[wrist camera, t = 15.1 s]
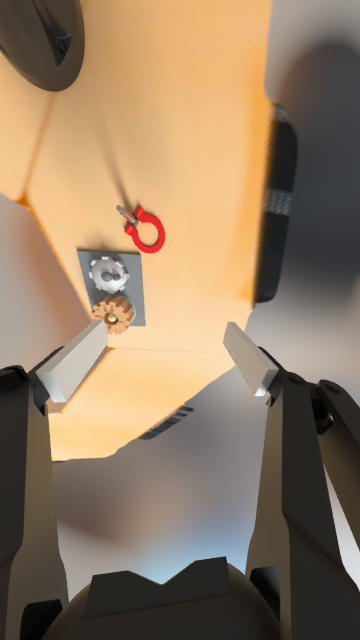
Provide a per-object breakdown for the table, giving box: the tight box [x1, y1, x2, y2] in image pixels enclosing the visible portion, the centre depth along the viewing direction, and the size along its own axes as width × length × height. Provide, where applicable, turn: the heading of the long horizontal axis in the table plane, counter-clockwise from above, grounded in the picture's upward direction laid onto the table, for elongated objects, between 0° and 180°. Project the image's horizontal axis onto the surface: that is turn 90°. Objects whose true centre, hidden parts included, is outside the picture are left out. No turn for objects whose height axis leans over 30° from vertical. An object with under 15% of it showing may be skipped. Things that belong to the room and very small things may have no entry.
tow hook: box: [116, 205, 165, 253], centre depth 29 cm, size 8×13×9 cm
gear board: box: [77, 251, 145, 326], centre depth 37 cm, size 22×16×7 cm
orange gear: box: [91, 295, 135, 335], centre depth 39 cm, size 10×10×6 cm
